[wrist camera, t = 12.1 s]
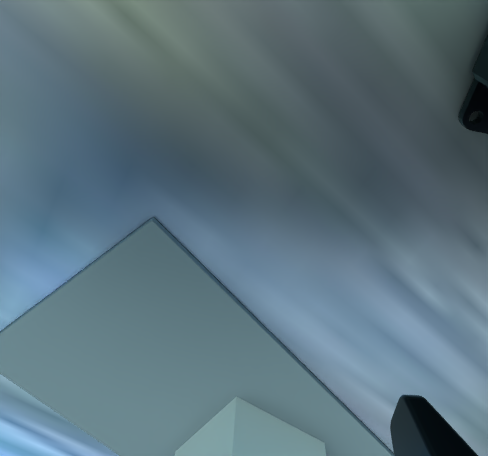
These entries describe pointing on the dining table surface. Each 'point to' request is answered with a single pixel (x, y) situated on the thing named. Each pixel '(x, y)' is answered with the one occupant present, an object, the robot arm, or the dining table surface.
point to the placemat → (163, 355)
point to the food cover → (249, 435)
